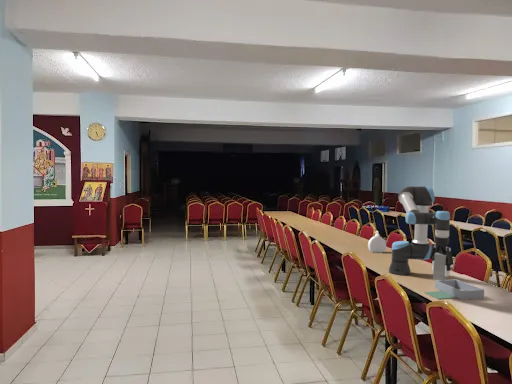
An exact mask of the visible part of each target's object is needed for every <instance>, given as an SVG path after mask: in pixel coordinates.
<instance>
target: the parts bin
mask: <svg viewBox="0 0 512 384" xmlns="http://www.w3.org/2000/svg"><path fill="white" fill-rule="evenodd" d="M434 288H435V289H436V290H437V291H442V292H445V293H447V294H449V295H451V296H454V297H456V298H457V299H459V300H461V301H463V300H473V299H476V300H477V299H484V298H485V289H484V288H480V287H479V286H475V285H474V284H473V285H472V284H469V283H467V282H465V281H462V280H459V279H454V278H452V279H445V280H444V281H441V280H436V279H435V281H434ZM456 298H455V299H456Z"/></svg>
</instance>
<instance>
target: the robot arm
mask: <svg viewBox="0 0 512 384" xmlns="http://www.w3.org/2000/svg"><path fill="white" fill-rule="evenodd" d="M397 198H398V201H399V203H400V204H402V207H403V209H404V211H405V212H406V213H405V223H406V224H408V225H414V237H413V238H414V239H412V240H411V242H410V241H407V240H399V241H396V240H395V241H394V242H393V243H392V245H391V263H390V264H389V267H388V272H389V273H390V274H393V275H399V276H409V275H411V271H412V270H411V268H410V265H409V260H418V261H419V260H420V261H427V260H428V261H429V259H430V260H431V265H432V267H431V271H432V272H434V259H435V253H437V252H441V253H442V254H443V255H447V257H446V264H445V276H447V277H449V276H450V272H451V267H452V266H453V265H454V259H453V253H452V249H453V248H452V247H448V245H449V242H450V238H449V237H450V225H451V224H450V220H451V215H450V214H451V213H450V212H449V211H446V210H445V211H444V210H437V211H435V212H429V209H430V207H432V204H433V203H435V201H436V200H435V198H436V197H435V192H434V189H433V188H432V187H431V186H413V185H412V186H406V187H404V188H402V189H401V190H400V191H399V192H398V196H397ZM429 225H430V226H435V228H434V230H435V231H434V233H435V234H434V235H435V237H434V243H430V242H429V241H428V226H429Z"/></svg>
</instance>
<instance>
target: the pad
mask: <svg viewBox="0 0 512 384" xmlns="http://www.w3.org/2000/svg"><path fill="white" fill-rule="evenodd" d="M424 294H426V295H427V296H430V297H432V298H434V297H435V298H434V299H436V298H437V299H436V300H447V299H449V300H450V299H456V297H454V296H452V295H449V294H447V293H445V292H442V291H440V290H437V291H424Z"/></svg>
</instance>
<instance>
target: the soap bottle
mask: <svg viewBox="0 0 512 384" xmlns="http://www.w3.org/2000/svg"><path fill="white" fill-rule="evenodd" d="M375 232H376V233H375V234H374V236H372V237H371V238H370V239H369V240H368V243H367V249H368V250H369V252H370V253H381V254H382V253H385V251H386V248H387V243H386V240H385V239H384V238H382V236H381V235H380V234H379V231H378V230H375Z"/></svg>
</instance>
